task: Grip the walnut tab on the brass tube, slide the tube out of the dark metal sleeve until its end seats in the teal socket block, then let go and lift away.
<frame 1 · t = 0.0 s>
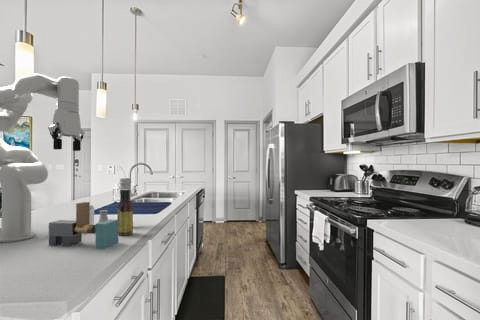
hand: (67, 150, 108), 37 cm above the worktop, tool pointing down, fingers open, 9 cm apart
flask: (103, 233, 120), on the worktop
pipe: (124, 227, 129), on the worktop
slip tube: (76, 217, 102), point 10 cm above the worktop, slide at 0.0 cm
sleeve: (65, 243, 103), on the worktop
can: (85, 231, 122), on the worktop
socket block: (107, 245, 100), on the worktop
sauce bottle: (125, 234, 116), on the worktop
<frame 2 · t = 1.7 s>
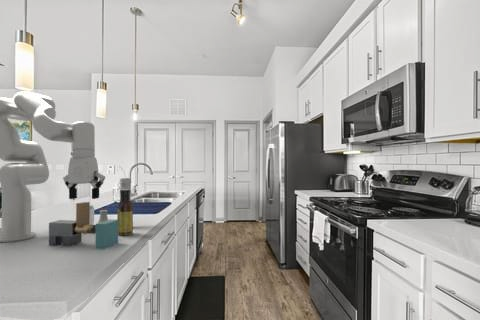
hand: (84, 198, 102), 18 cm above the worktop, tool pointing down, fingers open, 9 cm apart
nothing on the worktop moved.
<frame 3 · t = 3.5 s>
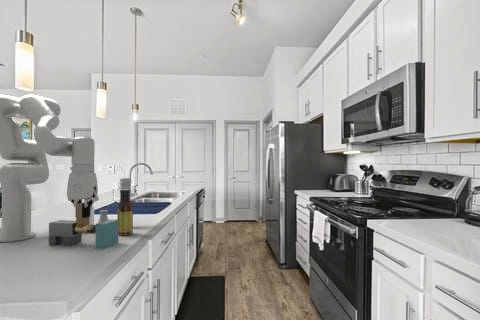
hand: (82, 216, 102), 11 cm above the worktop, tool pointing down, fingers closed on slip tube, 2 cm apart
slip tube: (76, 217, 102), point 10 cm above the worktop, slide at 0.0 cm, touching gripper
everything else where it was.
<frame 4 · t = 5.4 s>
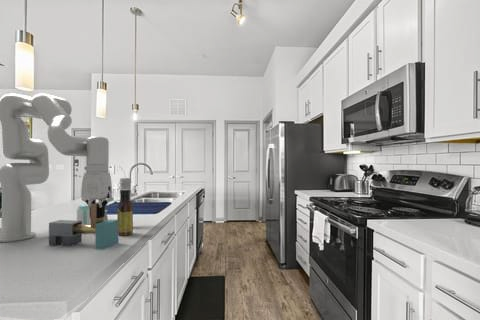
hand: (97, 217, 101), 11 cm above the worktop, tool pointing down, fingers closed on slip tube, 2 cm apart
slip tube: (90, 218, 101), point 10 cm above the worktop, slide at 6.1 cm, touching gripper
everything else where it was.
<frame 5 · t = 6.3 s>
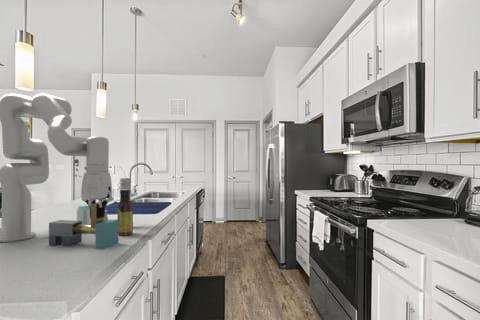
hand: (97, 217, 101), 11 cm above the worktop, tool pointing down, fingers closed on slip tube, 2 cm apart
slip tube: (90, 218, 101), point 10 cm above the worktop, slide at 6.1 cm, touching gripper
everything else where it was.
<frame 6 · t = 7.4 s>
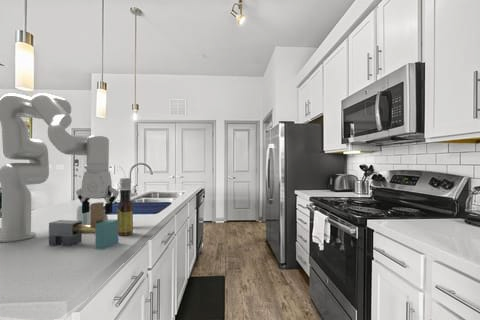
hand: (97, 213, 101), 12 cm above the worktop, tool pointing down, fingers open, 9 cm apart
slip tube: (90, 218, 101), point 10 cm above the worktop, slide at 6.0 cm
everything else where it was.
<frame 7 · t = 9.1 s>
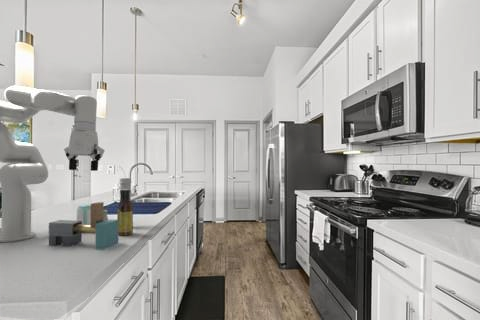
hand: (83, 170, 105), 29 cm above the worktop, tool pointing down, fingers open, 9 cm apart
nothing on the worktop moved.
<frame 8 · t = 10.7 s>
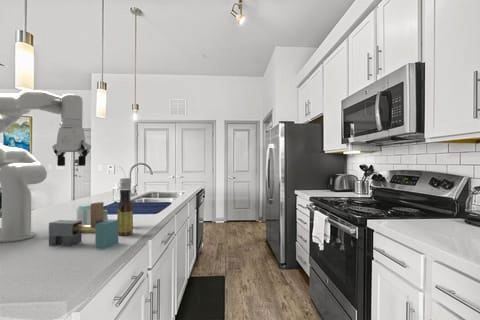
hand: (71, 165, 110), 30 cm above the worktop, tool pointing down, fingers open, 9 cm apart
nothing on the worktop moved.
at the end: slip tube slide at 6.0 cm; the gripper is holding nothing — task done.
